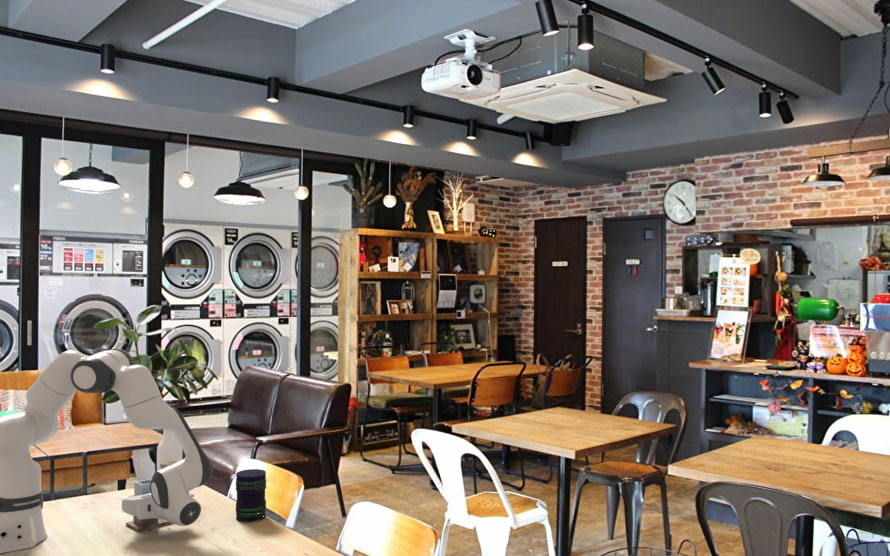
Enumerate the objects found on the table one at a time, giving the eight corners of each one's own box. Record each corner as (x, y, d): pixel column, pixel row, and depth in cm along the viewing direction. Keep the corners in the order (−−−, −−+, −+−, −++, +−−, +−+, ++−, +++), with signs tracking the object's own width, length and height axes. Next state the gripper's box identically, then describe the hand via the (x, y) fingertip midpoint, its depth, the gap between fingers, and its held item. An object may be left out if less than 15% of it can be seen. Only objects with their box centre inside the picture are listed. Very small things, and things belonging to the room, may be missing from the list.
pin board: (138, 531, 232) (138, 517, 232) (125, 525, 238) (125, 511, 238) (191, 518, 245) (191, 505, 245) (178, 513, 251) (178, 499, 251)
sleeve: (141, 526, 234) (141, 485, 234) (133, 522, 238) (133, 482, 238) (158, 522, 238) (158, 481, 239) (150, 518, 242) (150, 478, 242)
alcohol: (153, 499, 268) (153, 416, 268) (160, 492, 276) (161, 412, 277) (178, 498, 268) (178, 416, 269) (184, 492, 277) (185, 412, 278)
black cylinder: (229, 520, 243) (229, 475, 243) (246, 511, 252) (246, 468, 253) (255, 523, 240) (255, 477, 240) (271, 514, 249) (272, 470, 249)
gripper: (196, 486, 237) (176, 478, 246) (133, 500, 222) (114, 491, 231) (196, 506, 237) (176, 497, 246) (133, 521, 222) (114, 511, 231)
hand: (145, 494), depth 239 cm, fingers open, 8 cm apart
